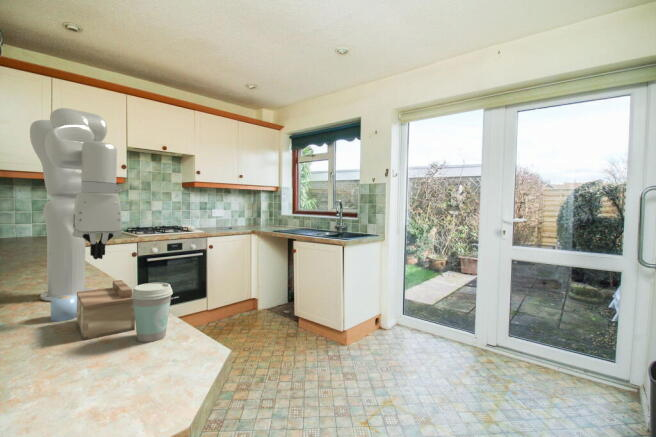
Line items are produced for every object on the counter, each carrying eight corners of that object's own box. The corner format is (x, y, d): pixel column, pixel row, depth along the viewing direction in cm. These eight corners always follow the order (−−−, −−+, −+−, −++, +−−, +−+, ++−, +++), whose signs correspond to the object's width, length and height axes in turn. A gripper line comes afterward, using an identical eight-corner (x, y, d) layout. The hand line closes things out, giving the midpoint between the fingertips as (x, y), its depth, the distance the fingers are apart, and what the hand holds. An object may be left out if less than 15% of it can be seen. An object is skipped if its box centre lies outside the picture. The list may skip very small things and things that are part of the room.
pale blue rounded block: (50, 317, 84) (50, 296, 84) (76, 312, 88) (77, 293, 88) (51, 323, 80) (51, 301, 80) (79, 318, 84) (79, 297, 84)
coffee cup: (154, 346, 69) (155, 292, 68) (121, 342, 71) (121, 289, 70) (179, 332, 77) (180, 283, 77) (149, 328, 79) (150, 280, 79)
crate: (76, 322, 81) (77, 295, 81) (122, 314, 88) (122, 289, 87) (83, 340, 71) (84, 309, 70) (134, 329, 78) (135, 301, 77)
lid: (76, 294, 81) (76, 284, 81) (122, 289, 88) (122, 279, 88) (84, 309, 70) (84, 297, 70) (135, 301, 77) (135, 290, 77)
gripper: (127, 191, 91) (126, 253, 92) (60, 187, 80) (59, 258, 81) (135, 191, 86) (133, 258, 87) (64, 187, 75) (63, 263, 76)
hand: (97, 258), depth 84 cm, fingers closed
